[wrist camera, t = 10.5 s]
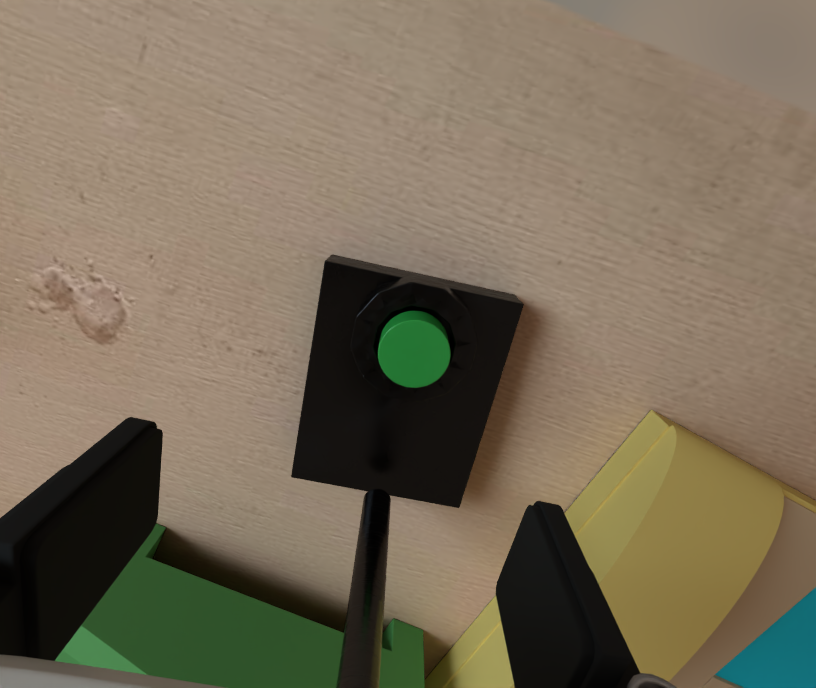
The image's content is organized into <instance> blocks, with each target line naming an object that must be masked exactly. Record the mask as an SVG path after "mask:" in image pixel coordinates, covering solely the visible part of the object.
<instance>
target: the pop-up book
mask: <svg viewBox="0 0 816 688" xmlns="http://www.w3.org/2000/svg"><path fill="white" fill-rule="evenodd" d="M564 514H565V516H566V518H567V520H568V522H569V525H570V527H571V529H572V531H573V533H574V535H575V537H576V540H577V542H578V544H579V546H580V548H581V550H582V552H583V555H584V557H585V559H586V561H587V563H588V565H589V567H590V569H591V570H592V572H593V573H594V575H595V578H596V580H597V582H598V584H599V586H600V588H601V590H602V592H603V595H604V597H605V599H606V601H607V603H608V605H609V607H610V609H611V612H612V614H613V616H614V618H615V620H616V622H617V624H618V626H619V629H620V631H621V633H622V635H623V637H624V639H625V641H626V644H627V646H628V648H629V650H630V652H631V654H632V656H633V658H634V661H635V663H636V665H637V667H638V669H639V671H640V673H646V674H653V675H655V676H658V677H660V678H663V679H665V680H666V681H668V682H669V683H671V684H672V685H674V686H676V687H677V688H816V501H815V500H813V499H811V498H810V497H808V496H806V495H804V494H802V493H801V492H799V491H797V490H795V489H793V488H792V487H790V486H788V485H786V484H784V483H783V482H781V481H779V480H777V479H775V478H774V477H772V476H770V475H768V474H766V473H765V472H763V471H761V470H759V469H757V468H756V467H754V466H752V465H750V464H748V463H747V462H745V461H743V460H741V459H739V458H738V457H736V456H734V455H732V454H730V453H729V452H727V451H725V450H723V449H721V448H720V447H718V446H716V445H714V444H712V443H711V442H709V441H707V440H705V439H703V438H702V437H700V436H698V435H696V434H694V433H693V432H691V431H689V430H687V429H685V428H684V427H682V426H680V425H678V424H676V423H675V422H673V421H671V420H669V419H667V418H666V417H664V416H662V415H660V414H658V413H657V412H655V411H653V410H650V412H649V413H648V414H647V415H646V416H645V418H644V419H643V420H642V421H641V422H640V424H639V425H638V426H637V427H636V428H635V430H634V431H633V432H632V433H631V434H630V436H629V437H628V438H627V439H626V440H625V442H624V443H623V444H622V445H621V446H620V447H619V449H618V450H617V451H616V452H615V453H614V455H613V456H612V457H611V458H610V459H609V461H608V462H607V463H606V464H605V465H604V467H603V468H602V469H601V470H600V471H599V473H598V474H597V475H596V476H595V477H594V479H593V480H592V481H591V482H590V483H589V485H588V486H587V487H586V488H585V489H584V490H583V492H582V493H581V494H580V495H579V496H578V498H577V499H576V500H575V501H574V502H573V504H572V505H571V506H570V507H569V508H568V510H567V511H566V512H565V513H564ZM424 682H425V688H515V686H514V681H513V676H512V671H511V667H510V662H509V657H508V652H507V647H506V642H505V637H504V633H503V628H502V623H501V618H500V613H499V608H498V603H497V598H496V596H495V597H494V598H493V599H492V600H491V602H490V603H489V604H488V605H487V606H486V608H485V609H484V610H483V611H482V612H481V614H480V615H479V616H478V617H477V618H476V620H475V621H474V622H473V623H472V624H471V625H470V627H469V628H468V629H467V630H466V631H465V633H464V634H463V635H462V636H461V637H460V639H459V640H458V641H457V642H456V643H455V645H454V646H453V647H452V648H451V649H450V651H449V652H448V653H447V654H446V655H445V657H444V658H443V659H442V660H441V661H440V663H439V664H438V665H437V666H436V667H435V668H434V670H433V671H432V672H431V673H430V674H429V676H428V677H427V678H426V679H425V680H424Z"/></svg>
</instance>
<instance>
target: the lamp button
mask: <svg viewBox="0 0 816 688" xmlns="http://www.w3.org/2000/svg"><path fill="white" fill-rule="evenodd" d="M450 357H451V350H450V345H449V341H448V337H447V333H446V330H445V328H444V327H443V325H442V324H441V322H440V321H439V320H438V319H436V318H435V317H434V316H432V315H430V314H428V313H425V312H422V311H407V312H403V313H400V314H398V315H396V316H395V317H393V318H392V319H391V320H390V321H389V322H388V323H387V324H386V325H385V327H384V328H383V331H382V333H381V337H380V342H379V347H378V360H379V364H380V366H381V369H382V370H383V372H384V373H385V375H386V376H387V377H388V378H389V379H391V380H392V381H393V382H395V383H397V384H399V385H401V386H405V387H410V388H418V387H424V386H427V385H430V384H432V383H433V382H435V381H437V380H438V379H439V378H440V377H441V376H442V375H443V374H444V372H445V371H446V369H447V367H448V365H449V362H450Z"/></svg>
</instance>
